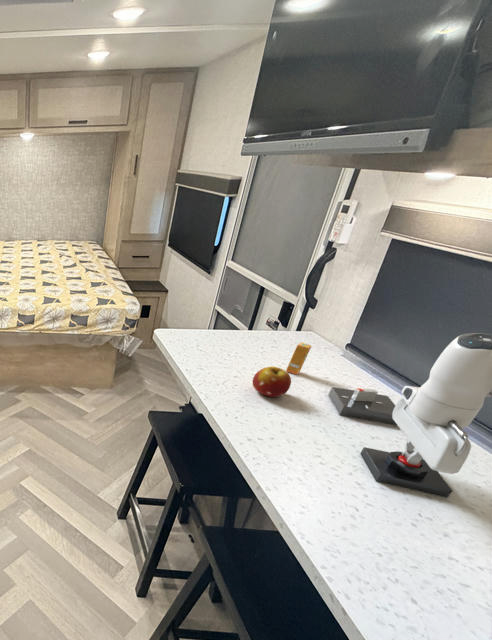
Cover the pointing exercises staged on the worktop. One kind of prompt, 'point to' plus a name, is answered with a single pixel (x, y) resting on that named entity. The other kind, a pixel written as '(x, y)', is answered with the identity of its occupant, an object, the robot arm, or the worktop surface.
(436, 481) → the switch
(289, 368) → the supplement box
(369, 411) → the panel
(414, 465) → the button
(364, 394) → the stove knob
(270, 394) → the fruit
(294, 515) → the worktop surface
